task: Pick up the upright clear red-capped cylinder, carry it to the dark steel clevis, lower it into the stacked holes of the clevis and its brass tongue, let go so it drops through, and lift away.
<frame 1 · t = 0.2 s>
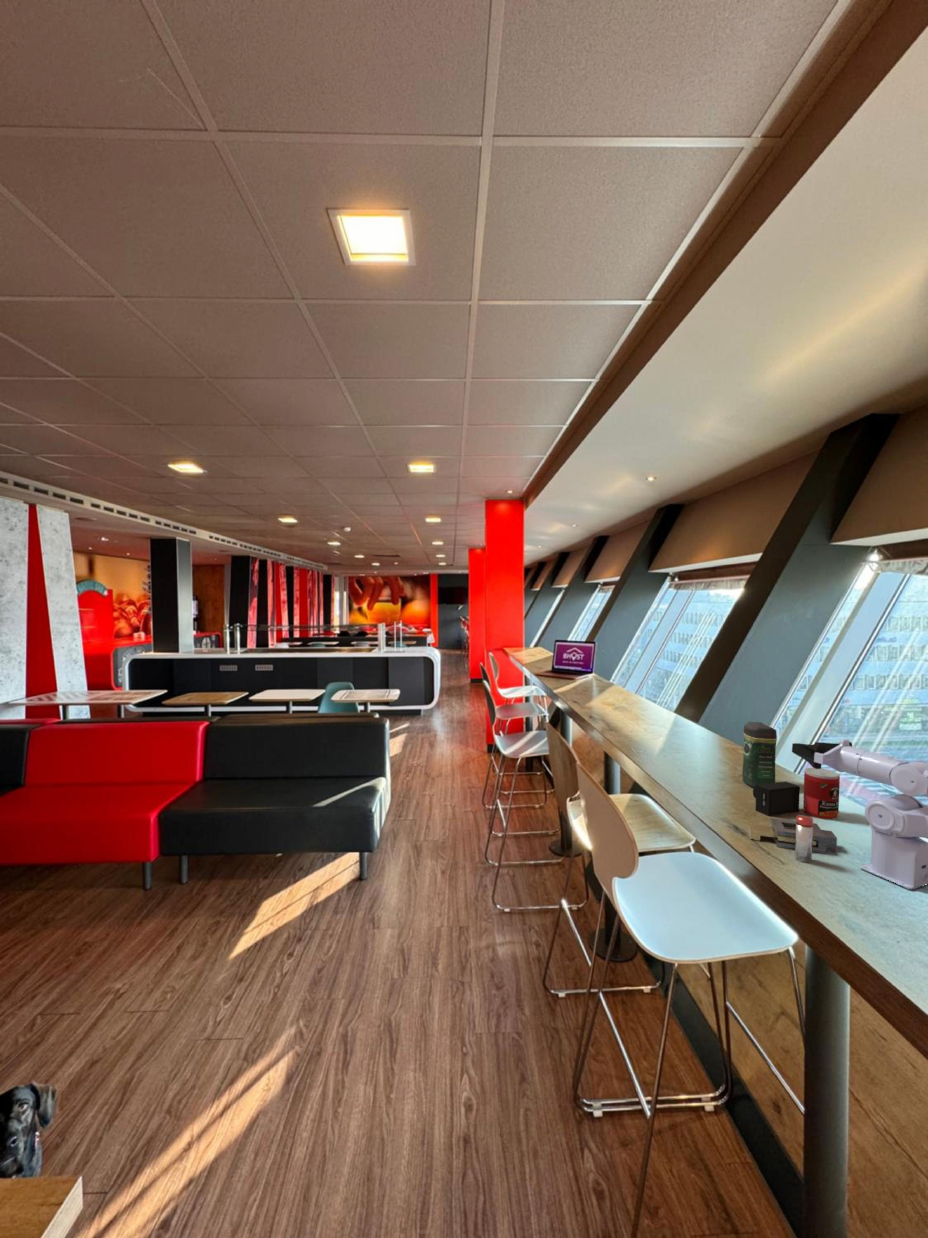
hand: (804, 747, 131), 21 cm above the table, tool horizontal, fingers open, 7 cm apart
clevis: (793, 842, 128), on the table
clear red-capped cylinder: (803, 859, 120), on the table
digital camera: (775, 811, 148), on the table
canned food: (820, 814, 146), on the table
coffee jar: (758, 785, 169), on the table
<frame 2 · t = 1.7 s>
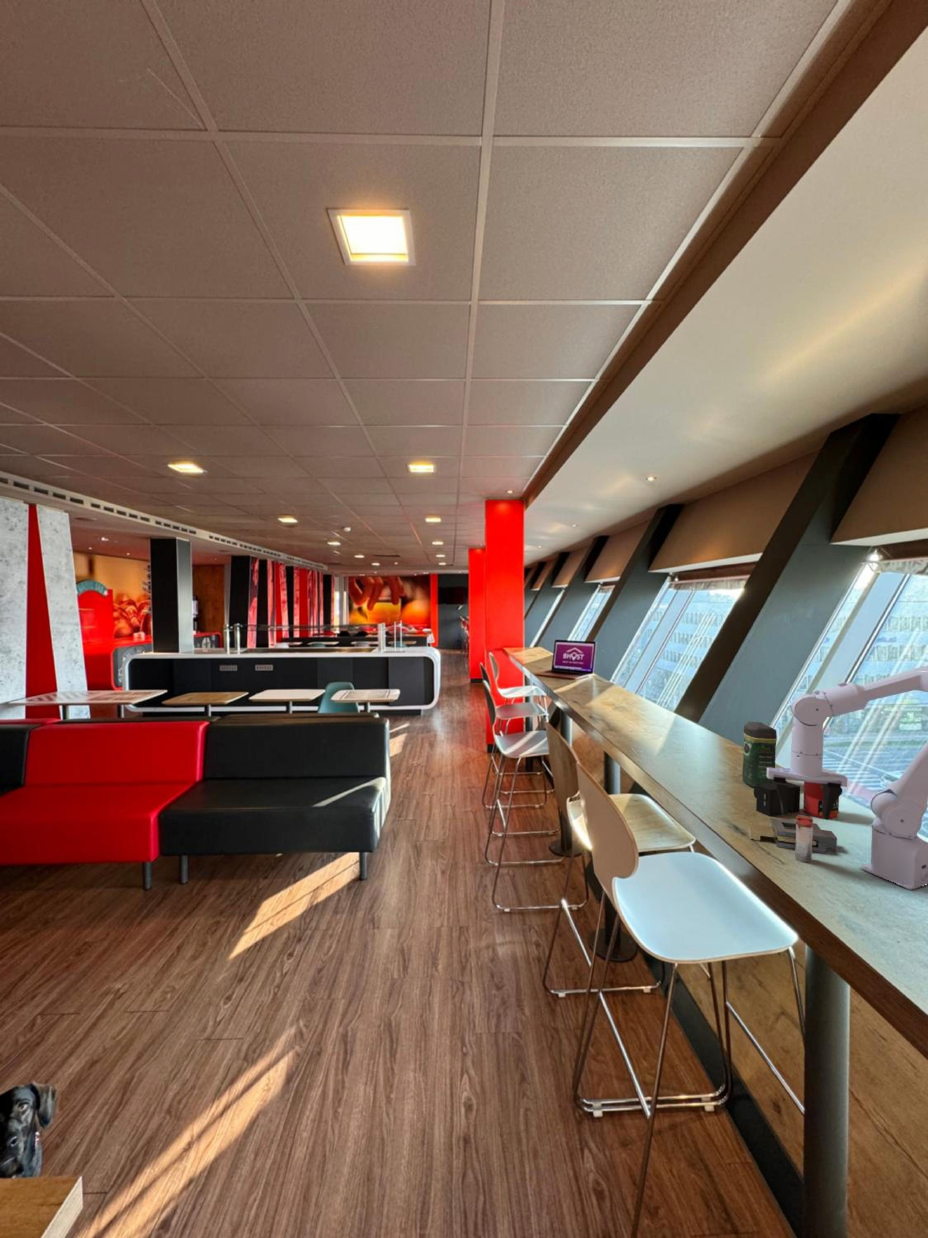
hand: (804, 815, 119), 9 cm above the table, tool pointing down, fingers open, 7 cm apart
nothing on the table moved.
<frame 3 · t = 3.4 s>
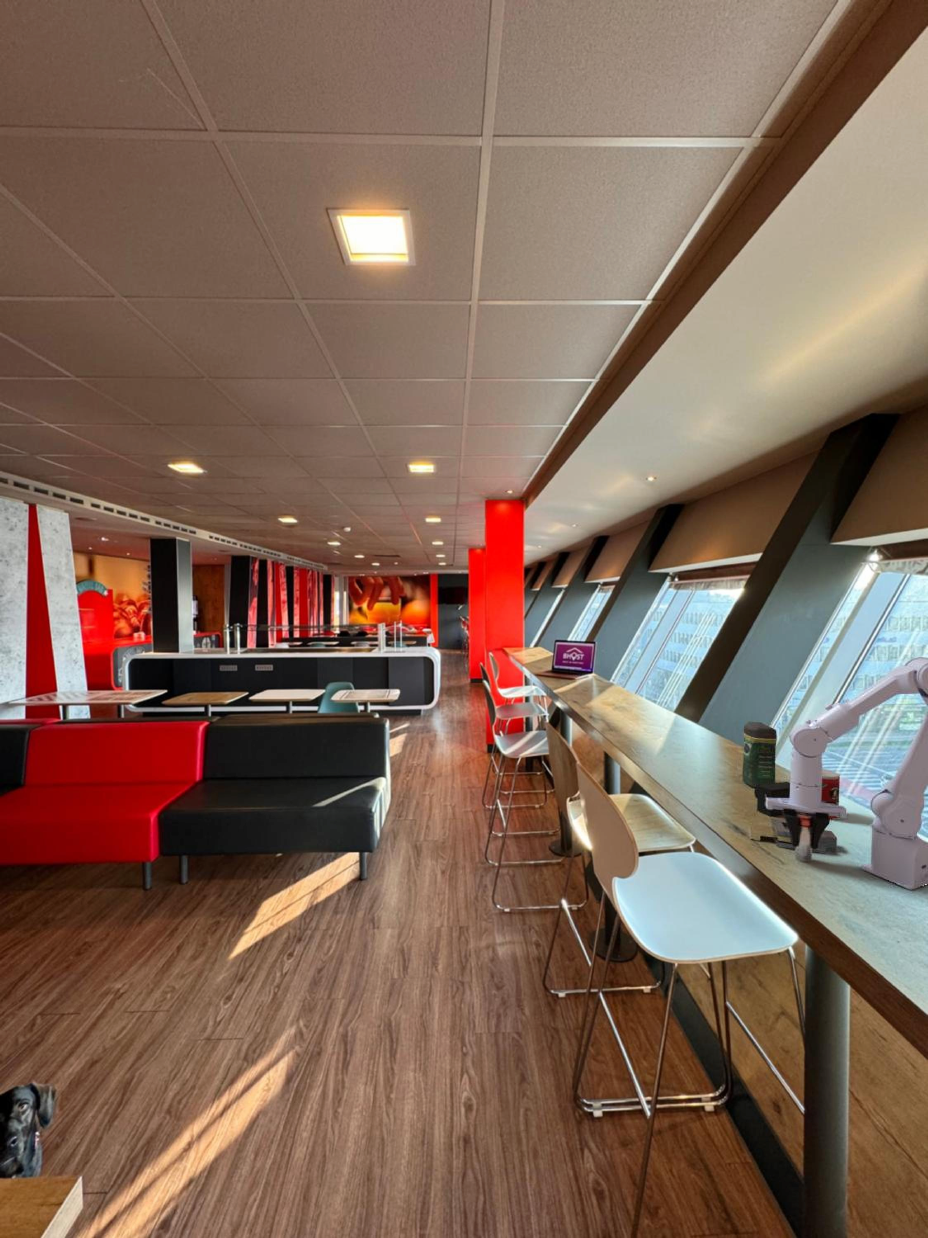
hand: (803, 846, 120), 3 cm above the table, tool pointing down, fingers closed on clear red-capped cylinder, 3 cm apart
clear red-capped cylinder: (803, 859, 120), on the table, touching gripper
everything else where it was.
when the fingers open (5 cm above the table, at t = 6.9 s): clear red-capped cylinder drops 2 cm, resting in clevis.
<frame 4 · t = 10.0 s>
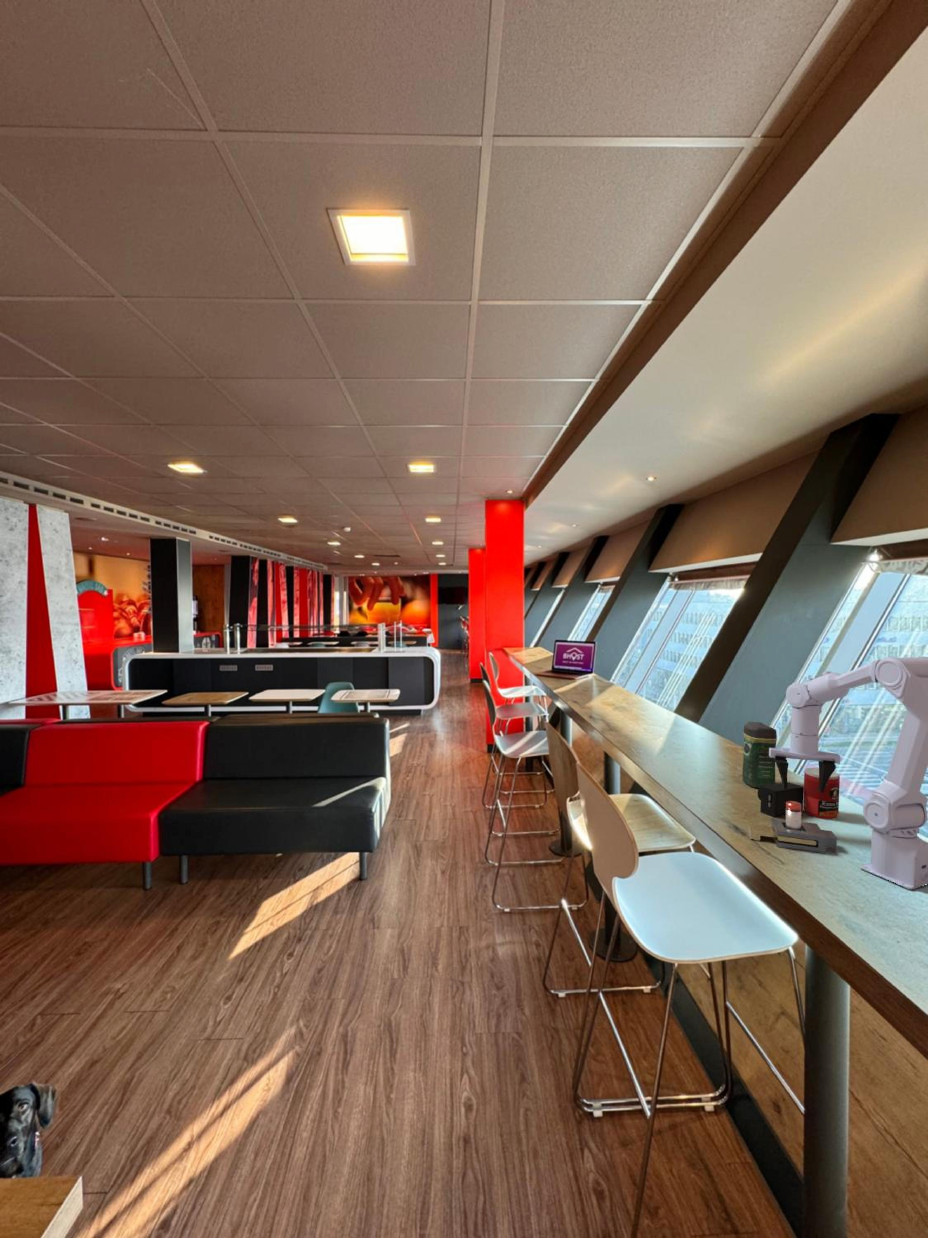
hand: (802, 789, 135), 10 cm above the table, tool pointing down, fingers open, 7 cm apart
clear red-capped cylinder: (793, 842, 128), resting in clevis
at the end: clear red-capped cylinder 0.2 cm off-centre on the clevis, point 0.0 cm above the clevis's base; clear red-capped cylinder tilted 1°; the gripper is holding nothing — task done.
